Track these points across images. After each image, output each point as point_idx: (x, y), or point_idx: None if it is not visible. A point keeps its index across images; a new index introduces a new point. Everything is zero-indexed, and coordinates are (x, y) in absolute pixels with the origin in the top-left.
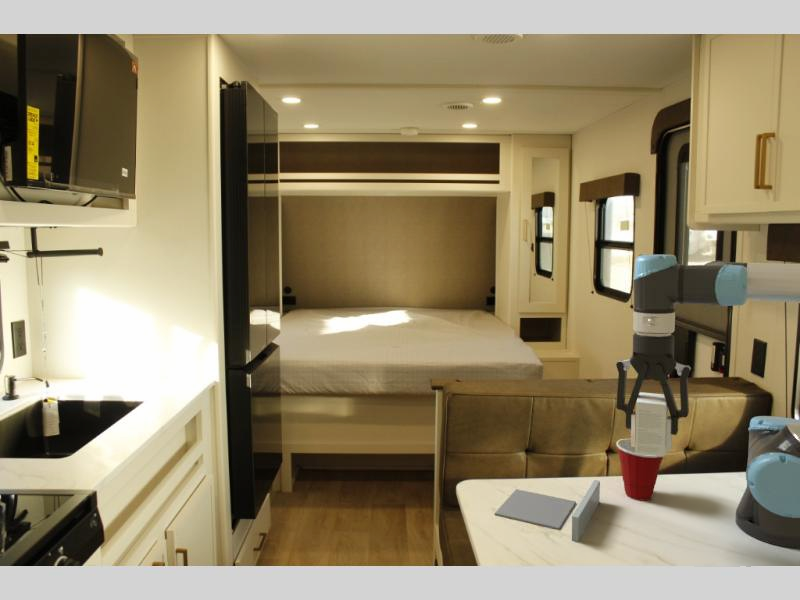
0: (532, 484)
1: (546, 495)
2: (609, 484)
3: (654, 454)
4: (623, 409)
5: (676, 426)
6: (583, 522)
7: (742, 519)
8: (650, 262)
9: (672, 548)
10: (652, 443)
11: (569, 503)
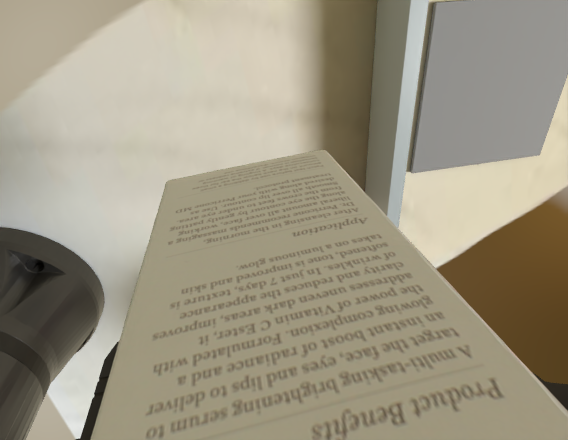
0: (502, 202)
1: (474, 163)
2: None
3: (223, 170)
4: (561, 396)
5: (99, 403)
6: (387, 30)
7: (61, 266)
8: None
9: (162, 72)
10: (240, 195)
11: (423, 155)
